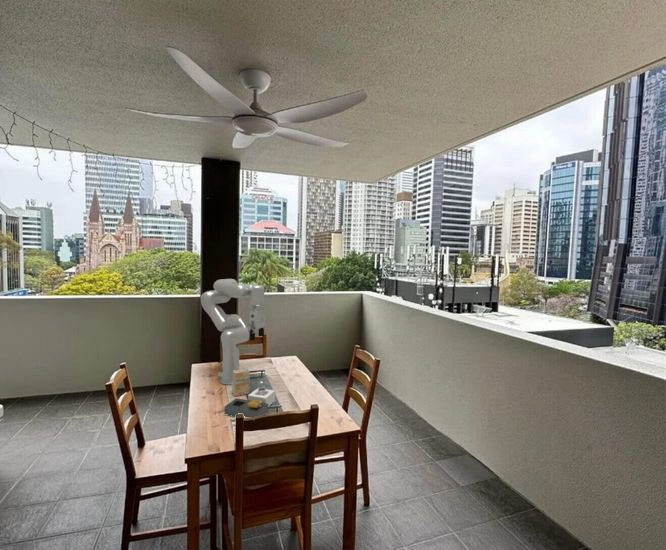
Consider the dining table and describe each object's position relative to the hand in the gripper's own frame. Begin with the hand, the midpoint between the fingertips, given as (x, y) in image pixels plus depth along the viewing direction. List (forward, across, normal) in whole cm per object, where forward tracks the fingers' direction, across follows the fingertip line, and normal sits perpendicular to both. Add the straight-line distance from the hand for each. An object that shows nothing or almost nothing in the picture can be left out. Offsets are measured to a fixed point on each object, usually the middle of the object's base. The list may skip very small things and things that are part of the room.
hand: (256, 338), depth 188 cm
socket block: (+30, -24, -9) cm, 40 cm away
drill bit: (+30, -13, -11) cm, 35 cm away
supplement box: (+31, -6, +6) cm, 32 cm away
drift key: (+29, -24, -13) cm, 40 cm away
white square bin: (+30, -14, -11) cm, 35 cm away
